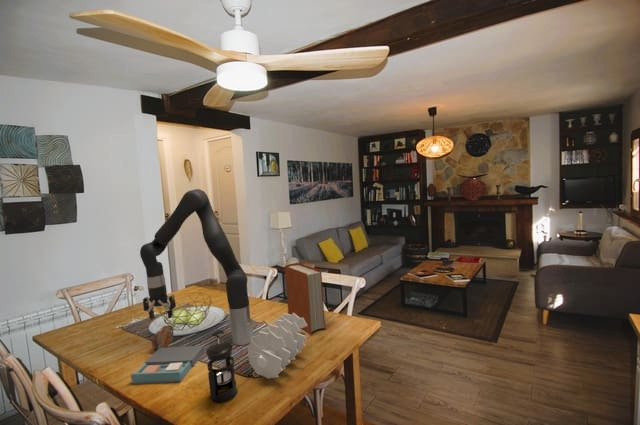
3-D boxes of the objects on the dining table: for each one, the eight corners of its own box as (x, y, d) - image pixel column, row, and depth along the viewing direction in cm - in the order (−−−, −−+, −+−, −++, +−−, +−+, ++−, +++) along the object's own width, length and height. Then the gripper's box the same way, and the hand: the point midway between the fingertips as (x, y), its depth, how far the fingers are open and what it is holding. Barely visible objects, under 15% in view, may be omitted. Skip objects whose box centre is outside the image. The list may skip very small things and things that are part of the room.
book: (325, 330, 163) (321, 270, 160) (311, 335, 159) (306, 274, 156) (301, 316, 182) (297, 262, 179) (288, 320, 178) (283, 265, 175)
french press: (220, 383, 125) (214, 324, 123) (243, 386, 122) (237, 326, 120) (201, 404, 114) (194, 340, 111) (226, 407, 111) (219, 341, 109)
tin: (159, 354, 150) (156, 336, 150) (152, 354, 150) (150, 337, 150) (174, 338, 165) (173, 322, 164) (168, 339, 165) (166, 322, 165)
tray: (191, 367, 138) (190, 358, 137) (180, 382, 128) (179, 372, 127) (146, 369, 138) (145, 360, 138) (132, 384, 128) (131, 374, 128)
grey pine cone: (254, 389, 126) (286, 353, 149) (290, 378, 119) (317, 342, 142) (232, 346, 127) (267, 317, 150) (266, 333, 120) (297, 304, 142)
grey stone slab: (204, 352, 150) (203, 345, 149) (192, 367, 138) (192, 360, 137) (160, 354, 151) (159, 347, 150) (145, 369, 139) (144, 362, 138)
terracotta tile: (161, 370, 135) (160, 364, 135) (154, 378, 130) (153, 372, 130) (149, 371, 135) (148, 365, 135) (142, 378, 130) (141, 372, 130)
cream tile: (183, 368, 136) (182, 362, 136) (178, 375, 131) (177, 369, 131) (170, 369, 136) (170, 363, 136) (165, 376, 131) (164, 370, 131)
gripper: (175, 281, 158) (179, 314, 160) (146, 283, 159) (151, 315, 161) (167, 286, 151) (172, 320, 152) (137, 288, 151) (142, 322, 153)
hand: (161, 318), depth 156 cm, fingers open, 8 cm apart
